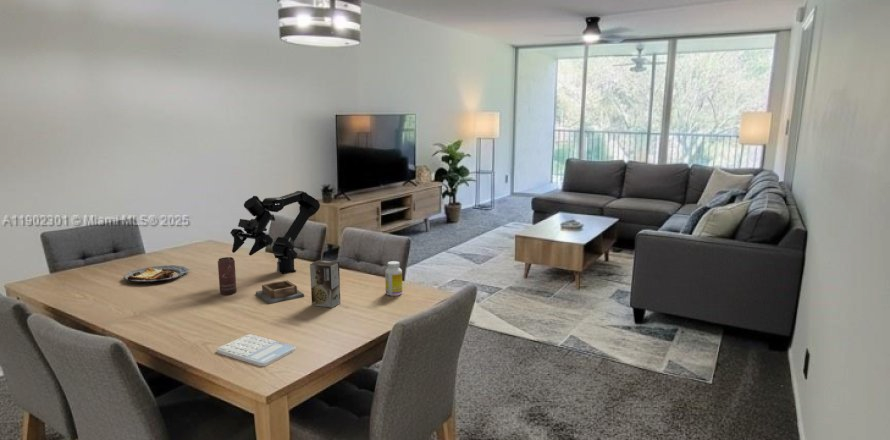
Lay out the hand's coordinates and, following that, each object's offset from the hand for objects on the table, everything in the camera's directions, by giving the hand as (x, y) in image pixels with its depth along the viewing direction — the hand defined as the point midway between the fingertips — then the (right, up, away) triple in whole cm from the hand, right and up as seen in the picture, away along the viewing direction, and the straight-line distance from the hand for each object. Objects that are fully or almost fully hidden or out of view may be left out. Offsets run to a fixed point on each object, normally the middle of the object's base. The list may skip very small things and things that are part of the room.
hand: (241, 253), depth 219 cm
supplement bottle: (+62, -16, -4) cm, 65 cm away
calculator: (+26, -26, -57) cm, 68 cm away
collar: (+18, -16, -7) cm, 25 cm away
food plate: (-42, -11, +15) cm, 46 cm away
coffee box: (+38, -18, -16) cm, 45 cm away
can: (-3, -15, -5) cm, 16 cm away
